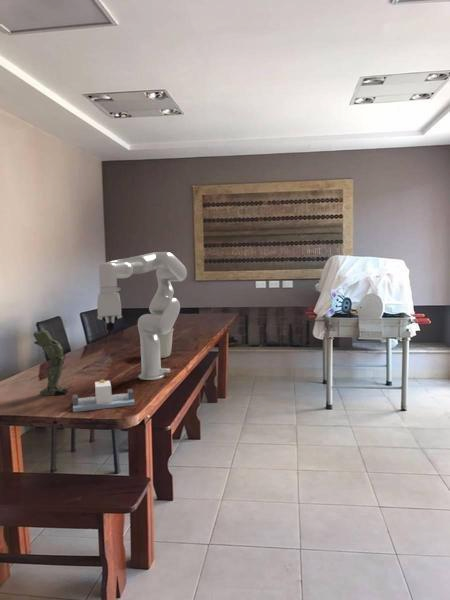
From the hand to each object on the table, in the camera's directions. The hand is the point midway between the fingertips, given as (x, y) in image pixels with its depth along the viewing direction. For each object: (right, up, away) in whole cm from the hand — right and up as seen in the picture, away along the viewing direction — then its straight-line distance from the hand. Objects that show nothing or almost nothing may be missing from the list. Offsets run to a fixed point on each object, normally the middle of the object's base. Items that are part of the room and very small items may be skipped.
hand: (110, 331), depth 212 cm
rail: (+1, -27, -16) cm, 32 cm away
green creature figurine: (-26, -28, +1) cm, 38 cm away
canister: (+12, -20, +73) cm, 77 cm away
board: (+1, -29, -16) cm, 33 cm away
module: (+1, -27, -16) cm, 32 cm away
